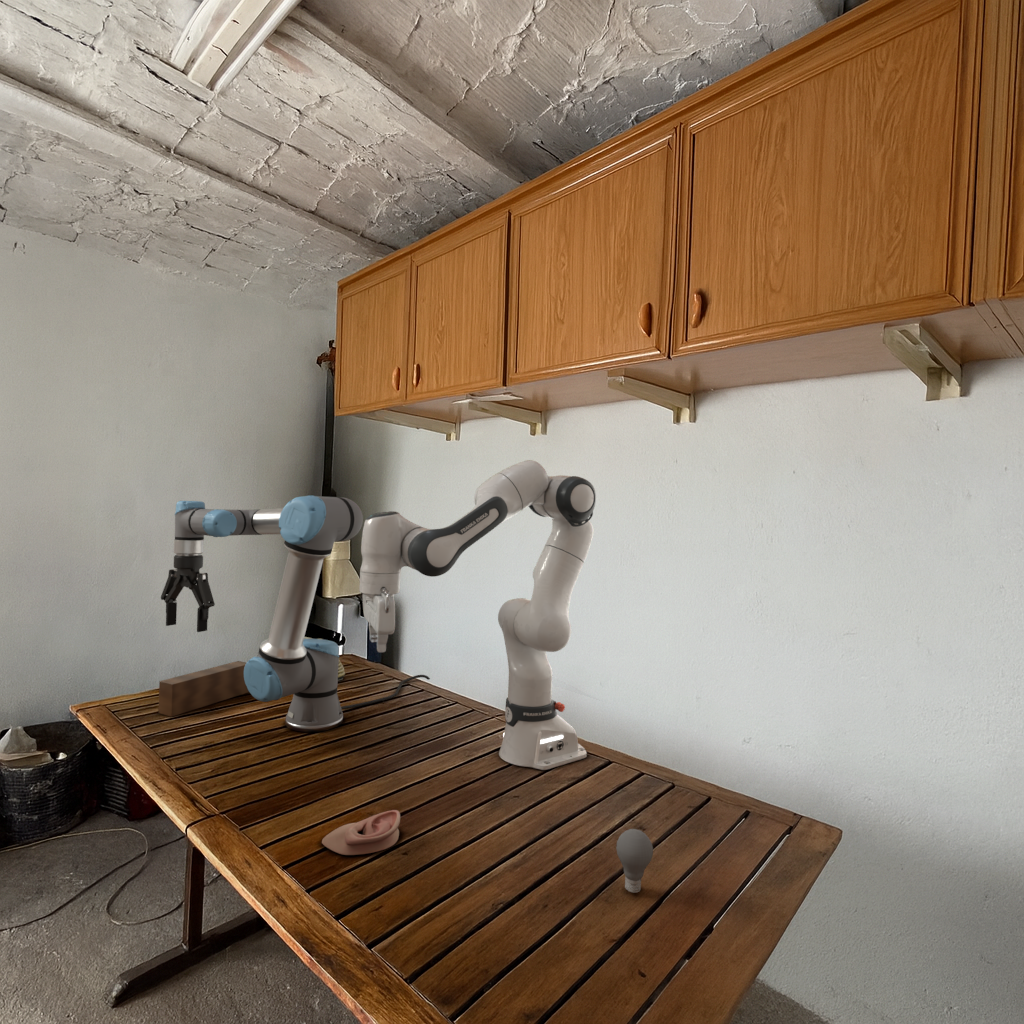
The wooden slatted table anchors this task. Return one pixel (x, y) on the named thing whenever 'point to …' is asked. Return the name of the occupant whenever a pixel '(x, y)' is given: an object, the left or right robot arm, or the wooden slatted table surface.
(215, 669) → the bar
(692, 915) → the wooden slatted table surface
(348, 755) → the wooden slatted table surface
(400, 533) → the right robot arm
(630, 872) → the light bulb
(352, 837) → the anatomical model
